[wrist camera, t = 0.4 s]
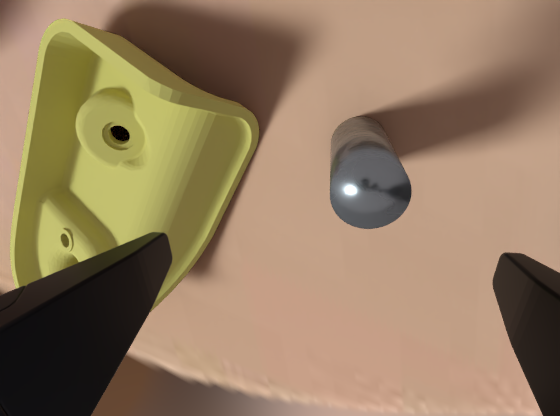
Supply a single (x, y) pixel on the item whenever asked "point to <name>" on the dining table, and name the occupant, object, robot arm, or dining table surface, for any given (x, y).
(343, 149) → the plug
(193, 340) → the dining table surface
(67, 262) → the plastic component
